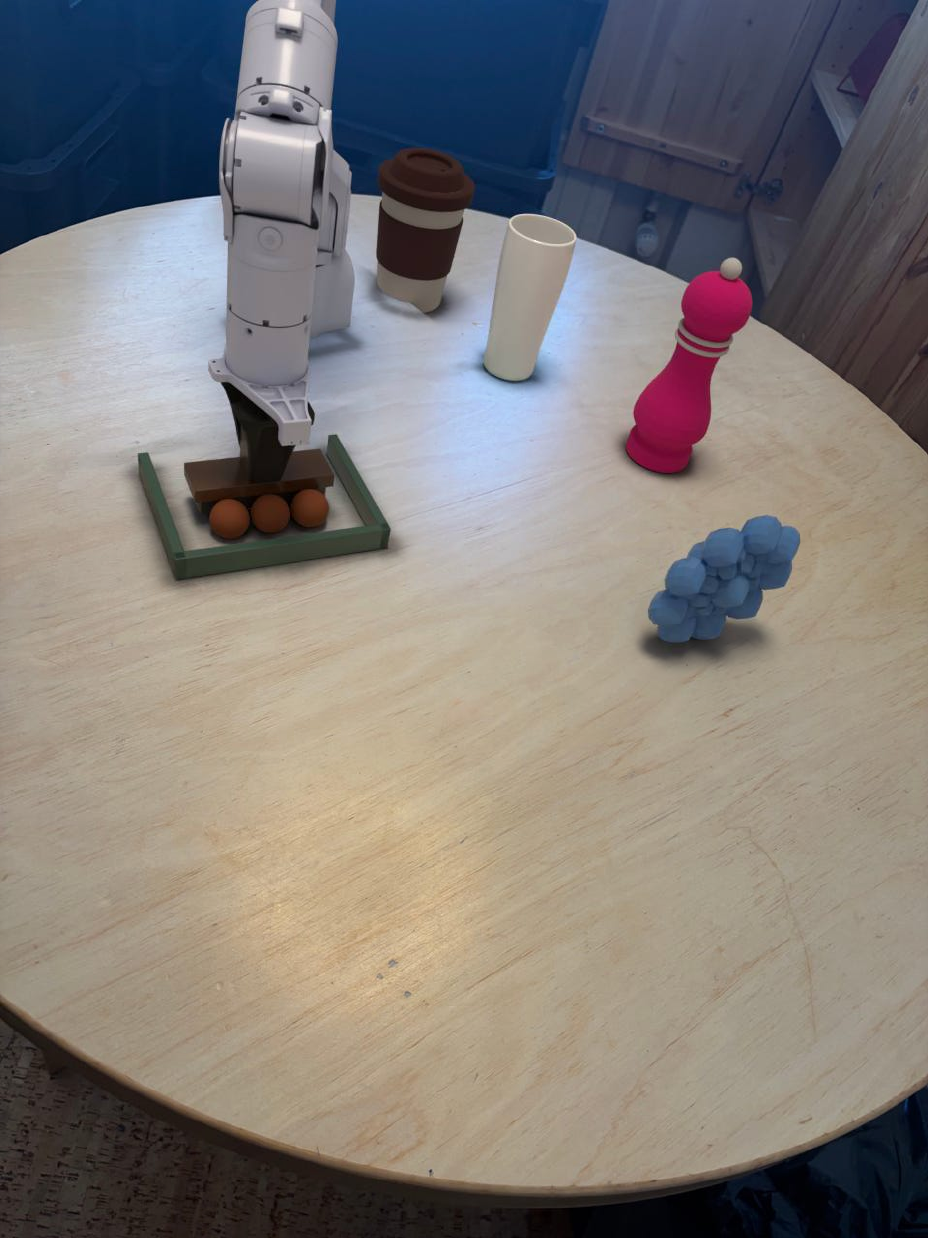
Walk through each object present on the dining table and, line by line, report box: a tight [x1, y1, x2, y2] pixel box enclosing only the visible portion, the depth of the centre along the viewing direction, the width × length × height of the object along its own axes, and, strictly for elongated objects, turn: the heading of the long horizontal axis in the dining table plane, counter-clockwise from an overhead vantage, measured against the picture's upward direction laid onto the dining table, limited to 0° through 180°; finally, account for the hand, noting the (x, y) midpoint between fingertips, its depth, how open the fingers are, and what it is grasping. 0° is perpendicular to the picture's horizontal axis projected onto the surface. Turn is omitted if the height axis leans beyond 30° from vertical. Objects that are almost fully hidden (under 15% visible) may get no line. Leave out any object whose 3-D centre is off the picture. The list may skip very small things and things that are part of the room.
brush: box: [183, 395, 335, 516], centre depth 73 cm, size 4×11×9 cm, turn 115°
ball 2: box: [290, 489, 330, 528], centre depth 75 cm, size 3×3×3 cm
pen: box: [137, 433, 392, 581], centre depth 75 cm, size 13×17×2 cm
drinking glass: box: [483, 213, 578, 382], centre depth 94 cm, size 7×7×15 cm
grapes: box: [647, 514, 801, 644], centre depth 72 cm, size 12×7×12 cm, turn 112°
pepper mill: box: [625, 257, 753, 474], centre depth 86 cm, size 7×7×20 cm
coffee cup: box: [375, 147, 476, 314], centre depth 101 cm, size 10×10×15 cm
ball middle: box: [250, 494, 291, 534], centre depth 74 cm, size 3×3×3 cm
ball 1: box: [208, 499, 251, 539], centre depth 73 cm, size 3×3×3 cm
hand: (261, 467), depth 74 cm, fingers closed on brush, 2 cm apart
